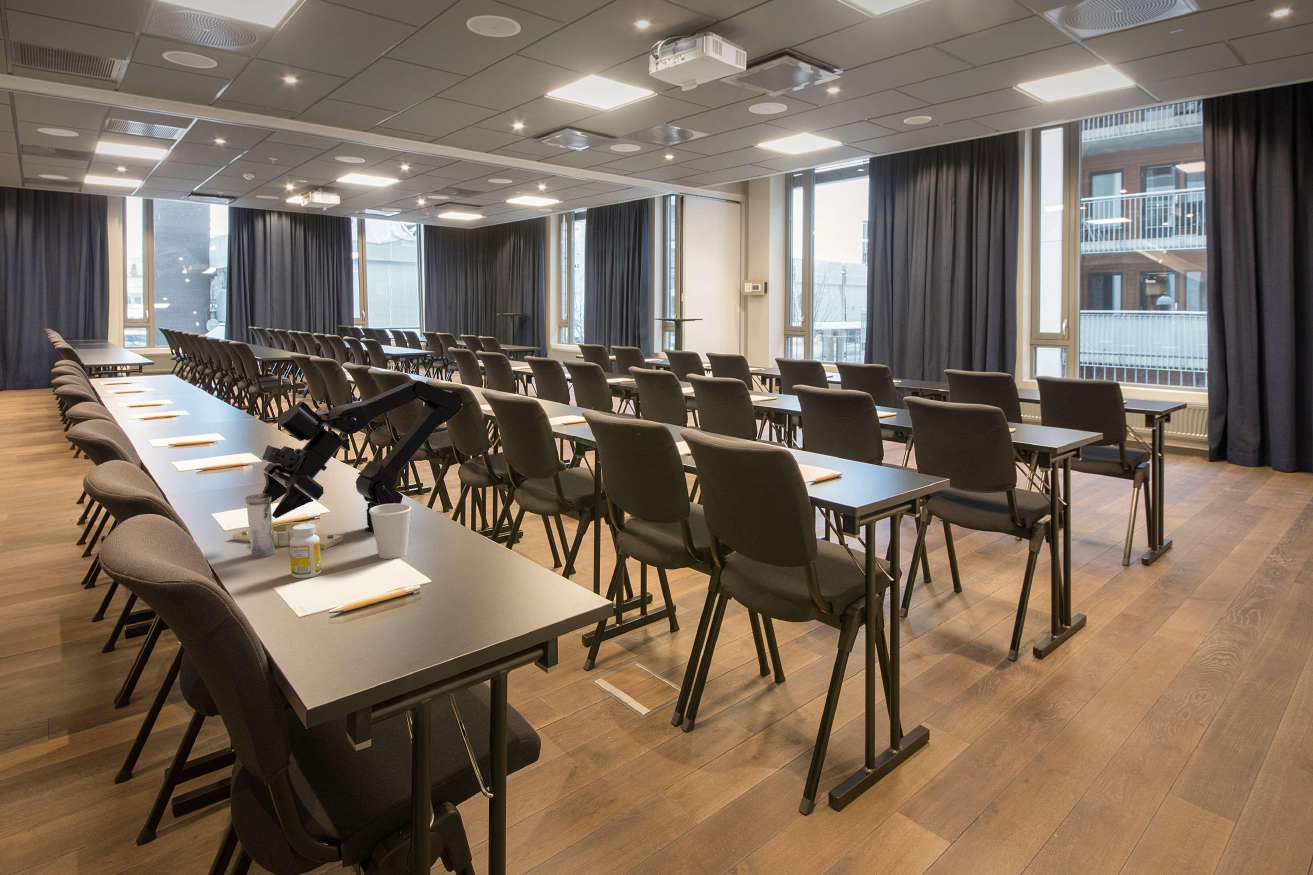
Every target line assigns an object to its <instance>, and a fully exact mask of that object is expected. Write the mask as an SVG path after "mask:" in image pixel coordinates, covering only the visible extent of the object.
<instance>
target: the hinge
mask: <svg viewBox="0 0 1313 875" xmlns="http://www.w3.org/2000/svg"><path fill="white" fill-rule="evenodd" d="M299 524H306V523H304V522H296V521H294V522H282V523H278V524H273V536H274V547H287V546H289V547H290V545H289V542H290V539H291V538H292V537H294V535H293V532H292V528H293V527H294V526H296V525H299ZM314 534H315V535H317V536H318V537H319V539H320V550H326V549H329V548H330V547H333V546H335V545H338V544H339V543H342V542H344V536H343V535H338V534H326V533H325V534H324V533H318V532H315V533H314ZM232 541H238V542H239V541H242V542H250V534H249V528H247V529H245V530H242V531H239V532H236V533H233V534H232Z"/></svg>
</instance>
